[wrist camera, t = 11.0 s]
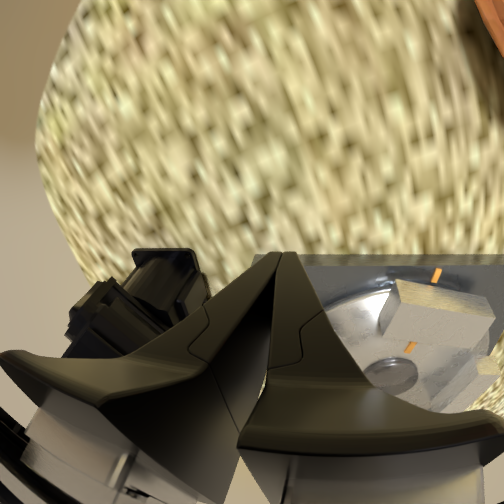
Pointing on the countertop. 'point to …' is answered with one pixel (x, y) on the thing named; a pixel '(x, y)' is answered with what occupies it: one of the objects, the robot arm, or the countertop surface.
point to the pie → (493, 20)
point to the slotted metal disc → (419, 342)
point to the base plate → (409, 277)
